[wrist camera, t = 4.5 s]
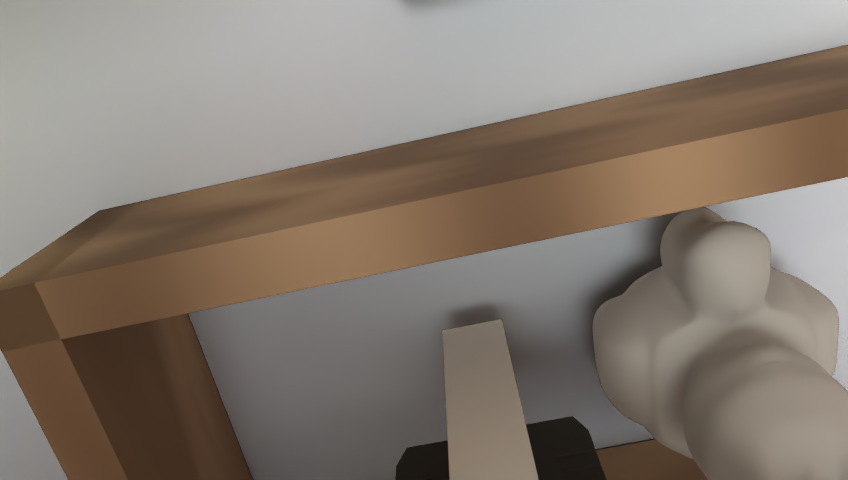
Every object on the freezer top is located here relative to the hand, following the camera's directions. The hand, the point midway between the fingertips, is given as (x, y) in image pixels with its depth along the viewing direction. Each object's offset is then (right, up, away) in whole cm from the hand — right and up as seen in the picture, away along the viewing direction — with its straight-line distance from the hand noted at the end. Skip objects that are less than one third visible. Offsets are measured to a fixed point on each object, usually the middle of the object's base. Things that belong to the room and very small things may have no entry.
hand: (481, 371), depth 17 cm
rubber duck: (+5, +2, +1) cm, 6 cm away
